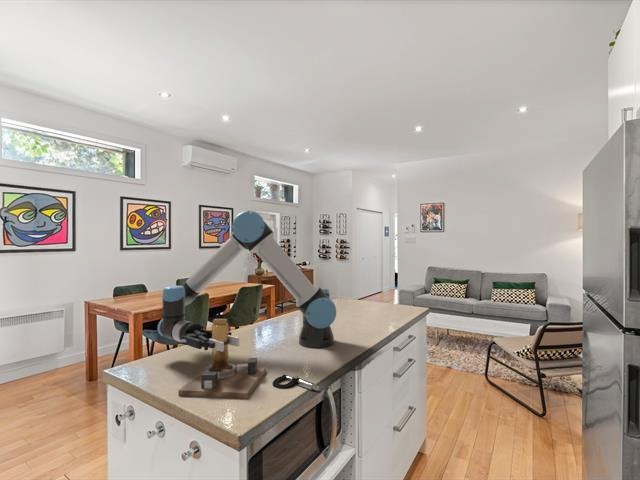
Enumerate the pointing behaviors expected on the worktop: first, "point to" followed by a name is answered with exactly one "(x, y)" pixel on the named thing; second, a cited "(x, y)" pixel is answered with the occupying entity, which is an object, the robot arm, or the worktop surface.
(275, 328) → the worktop surface
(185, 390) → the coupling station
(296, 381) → the micrometer
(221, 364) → the coupling
